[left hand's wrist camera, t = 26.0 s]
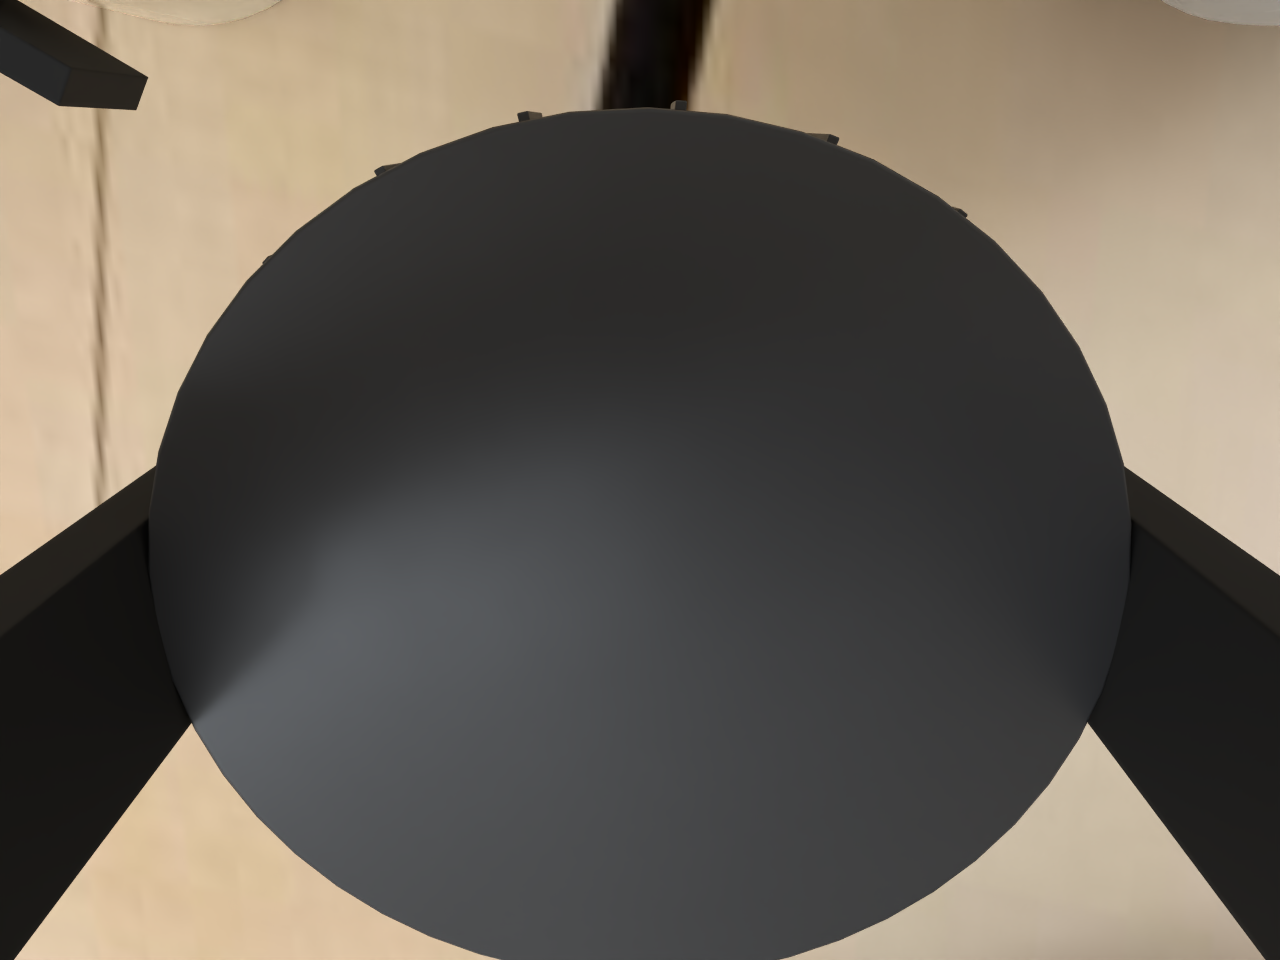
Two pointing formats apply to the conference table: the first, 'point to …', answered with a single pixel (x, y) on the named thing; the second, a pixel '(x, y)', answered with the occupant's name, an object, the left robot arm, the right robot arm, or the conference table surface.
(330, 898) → the conference table surface
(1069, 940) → the conference table surface
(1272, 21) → the projector
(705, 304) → the lid
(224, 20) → the jar
